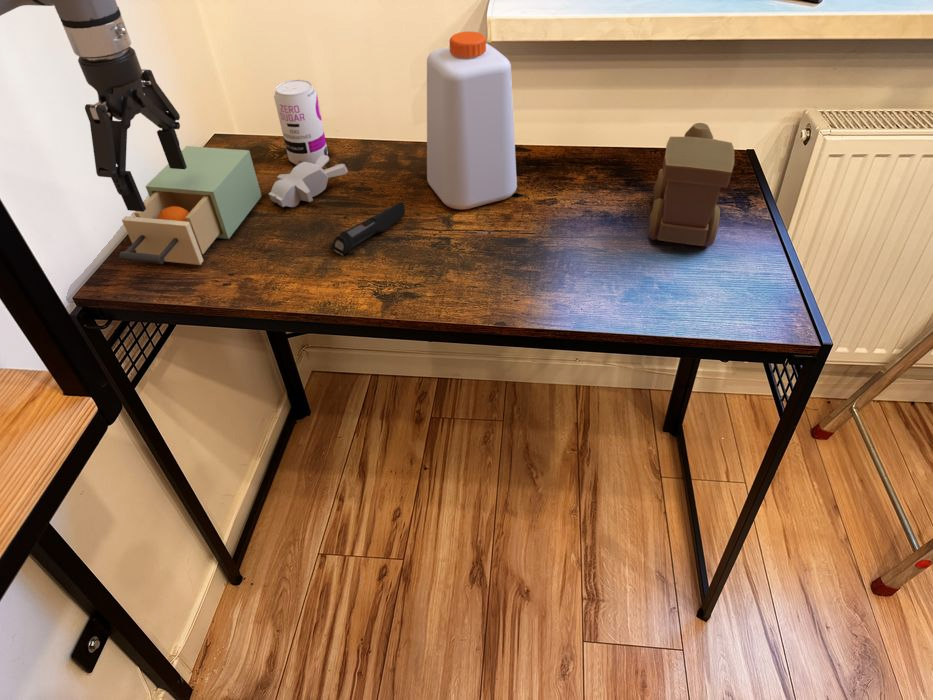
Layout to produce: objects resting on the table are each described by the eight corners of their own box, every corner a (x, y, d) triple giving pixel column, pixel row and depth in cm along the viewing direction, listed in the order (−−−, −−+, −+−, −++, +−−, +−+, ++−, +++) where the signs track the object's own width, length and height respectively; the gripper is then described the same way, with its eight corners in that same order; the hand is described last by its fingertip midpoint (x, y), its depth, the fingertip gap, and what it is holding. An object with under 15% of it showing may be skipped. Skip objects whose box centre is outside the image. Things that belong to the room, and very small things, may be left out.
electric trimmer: (411, 220, 122) (410, 205, 120) (345, 257, 114) (342, 242, 112) (397, 213, 124) (395, 197, 122) (331, 249, 116) (328, 233, 114)
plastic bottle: (490, 162, 136) (490, 16, 117) (524, 197, 126) (529, 44, 107) (421, 179, 132) (408, 30, 113) (450, 216, 122) (442, 60, 103)
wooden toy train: (713, 262, 110) (738, 171, 99) (642, 252, 113) (659, 163, 101) (715, 199, 124) (738, 113, 112) (652, 192, 126) (668, 106, 115)
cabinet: (228, 239, 119) (213, 191, 112) (164, 233, 121) (145, 186, 114) (261, 196, 129) (249, 150, 123) (202, 191, 131) (186, 145, 125)
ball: (153, 245, 113) (145, 211, 110) (173, 233, 118) (166, 200, 115) (185, 248, 112) (178, 214, 109) (204, 236, 118) (198, 203, 115)
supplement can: (324, 145, 143) (311, 75, 133) (331, 163, 138) (318, 91, 127) (286, 152, 142) (270, 82, 131) (291, 170, 136) (275, 98, 126)
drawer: (182, 288, 108) (166, 248, 102) (118, 281, 110) (99, 241, 104) (235, 220, 122) (223, 182, 116) (178, 215, 123) (163, 177, 118)
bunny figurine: (256, 181, 125) (318, 143, 132) (265, 203, 129) (324, 165, 136) (286, 198, 121) (348, 158, 127) (295, 221, 125) (355, 181, 131)
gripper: (76, 89, 84) (139, 232, 99) (173, 22, 101) (214, 152, 116) (23, 86, 85) (93, 228, 100) (128, 20, 102) (175, 150, 117)
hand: (158, 188), depth 108 cm, fingers open, 12 cm apart
